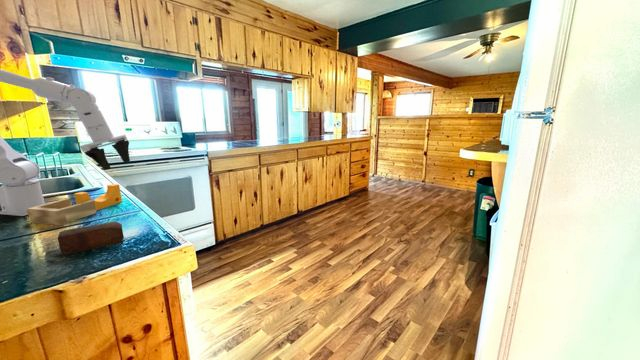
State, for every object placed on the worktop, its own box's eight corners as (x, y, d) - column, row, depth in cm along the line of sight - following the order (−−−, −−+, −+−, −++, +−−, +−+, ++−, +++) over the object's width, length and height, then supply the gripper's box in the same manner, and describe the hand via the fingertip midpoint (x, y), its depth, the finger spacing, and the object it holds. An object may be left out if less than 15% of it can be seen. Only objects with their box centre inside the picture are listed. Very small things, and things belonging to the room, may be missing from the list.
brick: (61, 257, 53) (56, 237, 52) (64, 250, 56) (59, 230, 55) (124, 242, 60) (121, 224, 58) (124, 236, 63) (120, 219, 61)
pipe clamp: (111, 201, 89) (108, 183, 88) (122, 202, 88) (118, 184, 87) (74, 213, 78) (69, 193, 76) (85, 214, 77) (81, 194, 75)
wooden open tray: (30, 222, 70) (26, 208, 69) (68, 210, 79) (65, 198, 78) (60, 225, 69) (57, 211, 68) (96, 212, 78) (94, 200, 77)
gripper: (83, 129, 75) (107, 171, 80) (125, 120, 88) (143, 157, 93) (66, 133, 76) (90, 174, 81) (110, 124, 90) (128, 160, 94)
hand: (117, 165), depth 87 cm, fingers open, 7 cm apart
